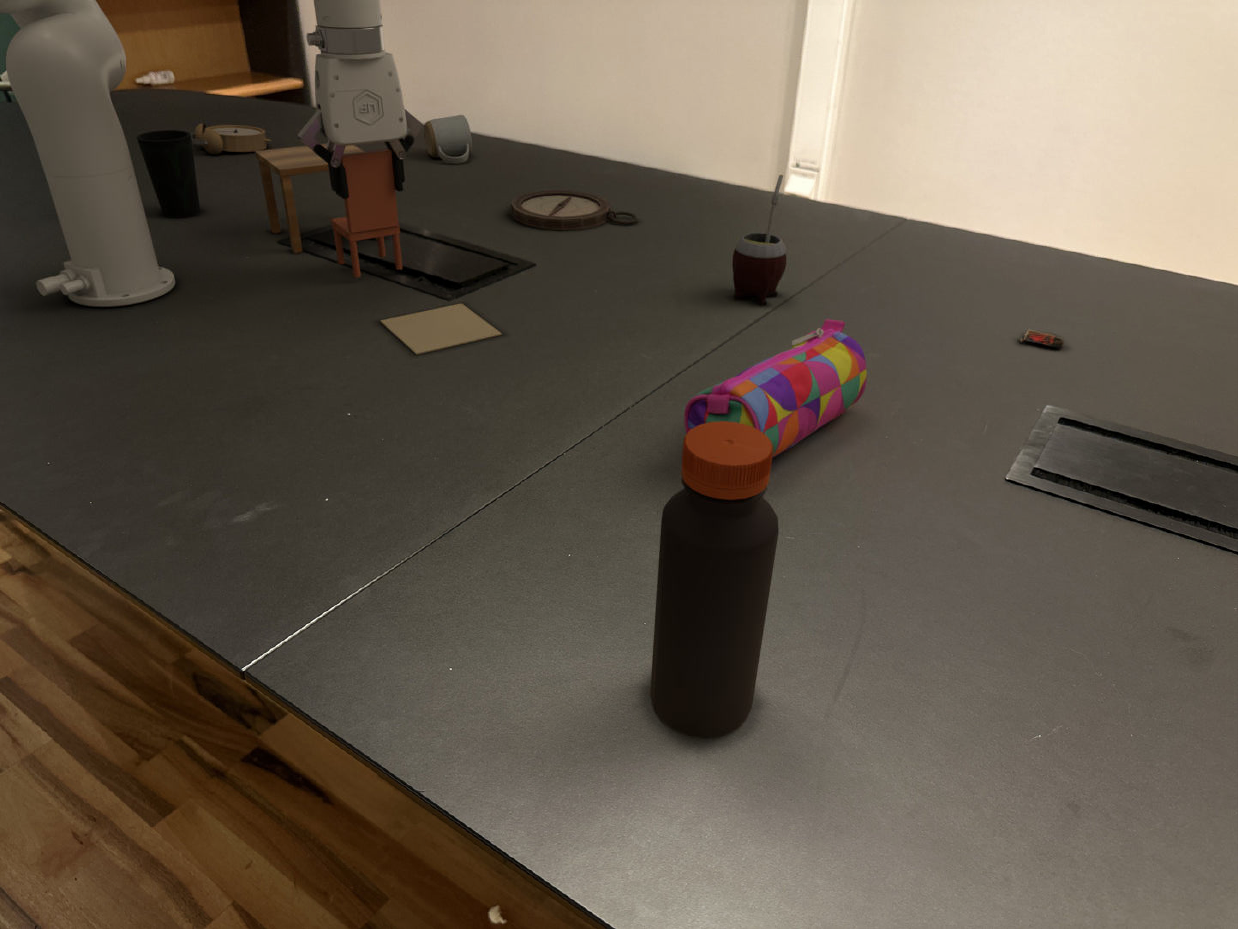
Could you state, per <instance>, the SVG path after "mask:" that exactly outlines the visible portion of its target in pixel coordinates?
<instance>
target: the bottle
mask: <svg viewBox="0 0 1238 929" xmlns="http://www.w3.org/2000/svg"><path fill="white" fill-rule="evenodd" d="M770 441H771V440H769V438H768V437H767V436H766V435H765V434H763V433H762V432H761V431H759V430H758V429H755V428H753V427H751V426H748V425H745V424H740V423H736V422H726V421H719V422H709V423H705V424H701V425H698V426H696V427H695V428H693V429H691V430H689V432H688V433H685V435H684V437H683V443H682V454H681V455H682V457H681V470H680V471H681V473H680V475H681V484H682V486H683V488H682V489H681V490H680V491H678V492H676V493H674V494H673V495H672V496H671V497H670V498H669V500H668V501H667V502H666V503H665V505H664V506H663V509H662V515H661V521H660V535H659V536H660V537H659V552H658V566H657V582H656V594H655V595H656V598H655V612H654V628H653V640H652V641H653V642H652V656H651V658H652V659H651V672H650V673H651V674H650V690H649V697H650V701H651V705H652V707H653V711H654V713H655V714H656V715H657V716H658V718H659V719H660V720H661V721H662V723H664V724H666V725H667V726H668V727H670V728H671V729H672V730H674V731H676V732H678V733H681V734H684V735H687V736H689V737H696V738H703V739H704V738H705V739H707V738H708V739H709V738H717V737H723V736H724V735H727V734H729V733H732V732H734V731H736V730H737V729H738V728H739V727H741V726H742V725H743V724H744V723H745V722H746V721H747V719H748V717H749V715H750V713H751V711H752V708H753V703H754V696H755V690H756V689H755V688H756V684H757V677H758V671H759V664H760V658H761V657H760V656H761V650H762V646H763V637H764V630H765V624H766V617H767V611H768V604H769V597H770V592H771V585H772V579H773V578H772V577H773V571H774V565H775V558H776V551H777V546H778V545H777V544H778V538H779V518H778V515H777V514H776V512H775V510H774V508H773V507H772V505H771V504H770V502H769V501H767V500H766V499H765V498H764V495H765V493H766V492H767V490H768V485H769V482H770V475H771V470H772V469H771V468H772V462H773V458H772V455H773V446H772V445H773V444H772V442H770Z"/></svg>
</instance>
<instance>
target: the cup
mask: <svg viewBox="0 0 1238 929" xmlns="http://www.w3.org/2000/svg"><path fill="white" fill-rule="evenodd" d="M191 134H192V133H190V132H189V131H185V130H179V129H176V130H175V129H160V130H153V131H147V132H146V131H145V132H142V133H140V134H137V136H136V140H137V143H138V146H139V149H140V152H141V154H142V158H143V161H144V163H145V164H144V165H145V166H146V169H147V172H148V176H149V177H150V178H149V179H150V181H151V183H152V187H153V190H154V192H155V195H156V198H157V201H158V204H159V207H160V209H161V213H162V215H163V216H164V217H166V218H171V219H172V218H175V219H182V218H190V217H194V216H196V215H198V214H200V213H201V206H200V198H199V189H198V181H197V174H196V167H195V164H196V163H195V159H194V158H195V157H194V148H193V144H192V139H191Z"/></svg>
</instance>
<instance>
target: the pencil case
mask: <svg viewBox="0 0 1238 929" xmlns="http://www.w3.org/2000/svg"><path fill="white" fill-rule="evenodd" d="M845 324H846V322H845V321H843V320H838V319H837V320H836V319H829V318H826V319H825V320H824V322H823V324H822V326H821V327H819V328H817V329H816V330H813V331H810V332H809V333H807V334H805V335H804V336H800V337H798V338H796V339H794V340H792V341H791V348H789V349H785V350H784V351H782V352H780V353H778V354H776V355H773V356H771V357H768V358H766V359H764V360H762V361H760V362H758V363H755V364H753V365H751V366H749V367H747V368H745V369H744V370H742V371H741V372H739V373H738V374H736V375H735V376H734V377H731V378H728V379H726V380H723V381H721V382H718V383H717V384H715V385H712V386H709V387H707V388H706V389H705V388H704V390H701V391H700V392H698V393H696V394H694V395H692V396H691V398H689V399H688V402H686V406H685V408H684V416H683V418H684V419H683V420H684V423H683V424H684V428H685V434H687V433H688V432H689V430H691V429H693V428H695V427H696V426H698V425H701V424H705V423H709V422H719V421H726V422H736V423H740V424H745V425H748V426H751V427H753V428H755V429H758V430H759V431H761V432H762V433H763V434H765V435H766V436H767V437H768V438H769V440H771V441H770V442H772V444H773V445H772V446H773V455H772V459H774V458H775V457H777V456H779V455H781V454H782V453H783V452H785V451H787V450H789V449H791V448H792V447H793V446H795V445H797V444H798V443H799V442H800V441H803V440H804V439H805V438H806V437H808V436H810V435H811V434H813V433H814V432H816V431H817V430H818V429H820V428H822V427H824V426H825V425H826V424H828V423H829V422H831V421H833V420H834V419H836V418H838V417H840V416H841V415H843V414H844V413H845V412H846V411H847V410H848V409H849V408H851V407H853V405H855V404H856V403H857V402H858V401H859V400H860V399H861V398H862V396H863V394H864V392H865V390H866V386H867V375H868V374H867V372H868V371H867V364H866V363H867V362H866V356H865V353H864V350H863V348H862V347H861V345H860V343H858V341H857V340H856V339H854V338H852V336H849V335H847V334H846V333H844V332H843V330H844V329H845Z"/></svg>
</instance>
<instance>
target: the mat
mask: <svg viewBox="0 0 1238 929" xmlns="http://www.w3.org/2000/svg"><path fill="white" fill-rule="evenodd" d="M379 322H380V323H381V324H382V325H383V326H384V327H385V328H386V329H387V330H389V332H391V333H392V334H393V335H394V336H395V337H396V338H397V339H398V340H399V341H401V342H402V343H403V344H404V345H405V346H406V347H407V348H408V349H409V350H410V351H411V352H412V353H414V354H415V355H416V356H418V355H422V354H425V353H426V354H427V353H431V352H435V351H439V350H444V349H448V348H451V347H456V346H461V345H464V344H470V343H473V342H477V341H482V340H486V339H491V338H494V337H495V338H496V337H498V336H500V337H501V336H502V333H501V332H500V331H499V330H498V329H496V328H495V327H494V326H492V325H491V324H489V323H488V322H487V321H486V320H484V319H483V318H482V317H480V316H479V315H478V314H477V313H475V312H473V311H472V310H471V309H470V308H468V307H467V306H466V305H464V304H463V303H457V304H451V305H448V306H442V307H438V308H433V309H429V310H424V311H419V312H415V313H410V314H405V315H404V314H403V315H400V316H395V317H391V318H387V319H381V320H380V321H379Z"/></svg>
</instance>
